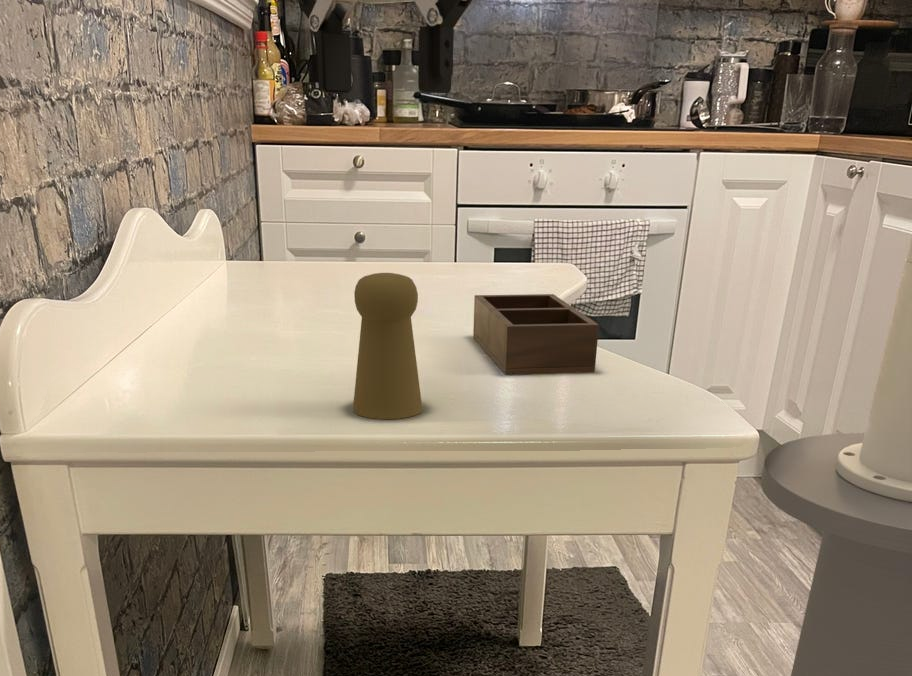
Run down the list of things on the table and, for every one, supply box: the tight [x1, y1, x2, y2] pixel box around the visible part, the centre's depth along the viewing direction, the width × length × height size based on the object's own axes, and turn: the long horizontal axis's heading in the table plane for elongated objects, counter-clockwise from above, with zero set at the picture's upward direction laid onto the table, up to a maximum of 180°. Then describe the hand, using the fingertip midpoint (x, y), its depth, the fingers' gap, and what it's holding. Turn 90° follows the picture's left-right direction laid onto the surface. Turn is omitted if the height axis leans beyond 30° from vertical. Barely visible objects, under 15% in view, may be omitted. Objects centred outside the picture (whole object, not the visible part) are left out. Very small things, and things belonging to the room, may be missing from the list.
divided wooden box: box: [472, 293, 600, 376], centre depth 100 cm, size 17×9×5 cm, turn 8°
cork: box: [352, 272, 423, 420], centre depth 79 cm, size 6×6×11 cm
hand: (383, 92), depth 72 cm, fingers open, 9 cm apart
